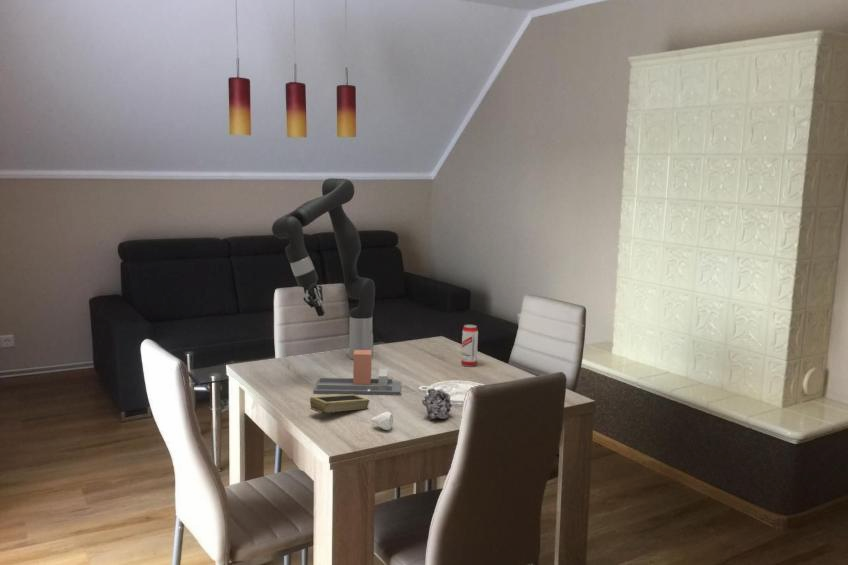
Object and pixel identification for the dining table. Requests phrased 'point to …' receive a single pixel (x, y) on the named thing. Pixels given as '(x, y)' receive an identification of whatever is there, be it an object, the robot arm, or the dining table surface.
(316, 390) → the grey slide track
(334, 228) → the robot arm
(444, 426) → the dining table surface
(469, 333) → the beer can
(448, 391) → the medallion
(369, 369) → the salmon rectangular block
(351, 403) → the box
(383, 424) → the white seashell
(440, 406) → the mineral specimen
